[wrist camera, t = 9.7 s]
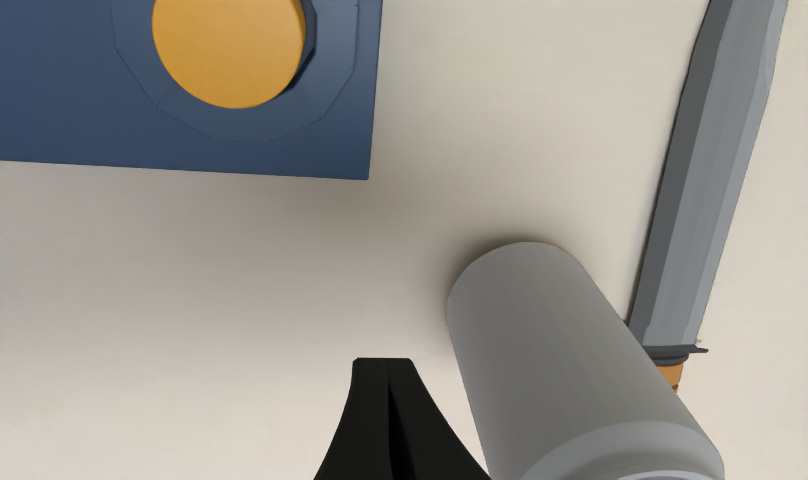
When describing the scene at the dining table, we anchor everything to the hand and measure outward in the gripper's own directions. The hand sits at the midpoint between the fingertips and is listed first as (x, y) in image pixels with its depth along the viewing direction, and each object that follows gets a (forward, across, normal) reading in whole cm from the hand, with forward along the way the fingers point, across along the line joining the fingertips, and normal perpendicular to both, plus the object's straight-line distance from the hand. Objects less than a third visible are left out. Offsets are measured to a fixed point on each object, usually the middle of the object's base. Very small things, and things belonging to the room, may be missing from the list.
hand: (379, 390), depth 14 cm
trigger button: (+7, +4, -7) cm, 11 cm away
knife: (+11, -14, +2) cm, 18 cm away
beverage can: (+11, -7, +4) cm, 13 cm away
